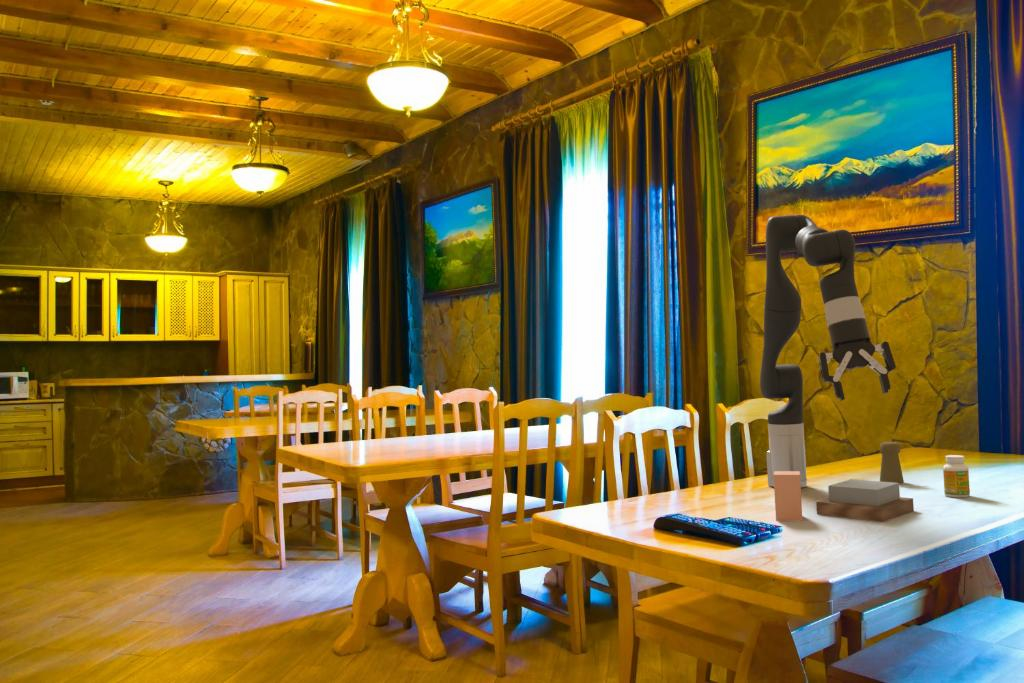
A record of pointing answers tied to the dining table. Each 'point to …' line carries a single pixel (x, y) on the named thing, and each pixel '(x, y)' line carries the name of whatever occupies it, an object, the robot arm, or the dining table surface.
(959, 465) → the supplement bottle
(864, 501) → the slate top block
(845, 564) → the dining table surface
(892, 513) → the walnut base block
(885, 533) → the dining table surface
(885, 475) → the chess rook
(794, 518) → the terracotta block
